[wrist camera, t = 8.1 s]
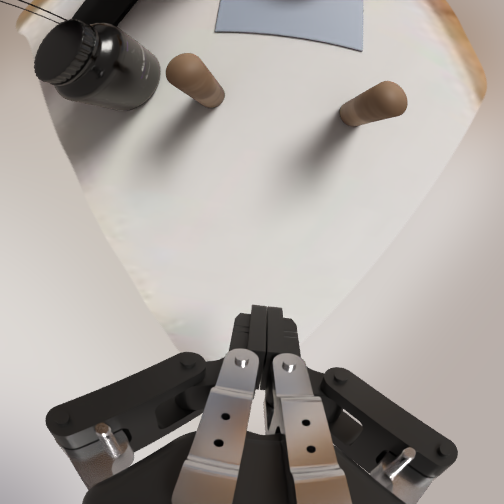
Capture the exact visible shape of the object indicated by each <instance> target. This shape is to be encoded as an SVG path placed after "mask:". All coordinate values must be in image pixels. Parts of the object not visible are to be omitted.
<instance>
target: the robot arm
mask: <svg viewBox="0 0 504 504" xmlns="http://www.w3.org/2000/svg"><path fill="white" fill-rule="evenodd" d="M259 384H260V390H265V399H264V418H265V431H266V432H265V433H266V435H259V434H256V433H252V432H249V431H247V426H248V421H249V415H250V410H251V404H252V400H253V399H254V395H255V390H256V389H259ZM343 409H345V410H346V411H347V412H348V413H350V414H351V415H352V416H353V417H355V418H356V419H357V420H359V421H360V422H361V424H362V426H361V425H360V424H359V423H357V422H356V421H355V420H354V419H352V418H351V417H350V416H349V415H347V414H346V413H345V412H343ZM202 413H203V415H202V418H201V421H200V423H199V426H198V429H197V431H195V432H191V433H188V434H185V435H183V436H180V437H178V438H177V439H175V440H173V441H172V442H170V443H168V444H167V445H165V446H164V447H162V448H160V449H159V450H157V451H156V452H154V453H152V454H151V455H149V456H147V457H146V458H144V459H142V460H140V461H139V462H137V463H135V464H133V465H132V466H130V465H131V464H132V462H133V460H134V452H136V451H138V450H140V449H141V448H143V447H145V446H147V445H149V444H151V443H152V442H154V441H156V440H158V439H160V438H162V437H163V436H165V435H167V434H169V433H170V432H172V431H174V430H176V429H177V428H179V427H181V426H182V425H184V424H186V423H187V422H189V421H191V420H192V419H194V418H195V417H197V416H199V415H200V414H202ZM46 426H47V428H48V429H49V431H50V432H51V433H52V435H53V436H54V438H55V440H56V442H57V443H58V445H59V446H60V447H61V449H62V450H63V451H64V452H65V454H66V455H67V456H68V457H69V458H70V460H71V462H72V464H73V465H74V467H75V469H76V471H77V472H78V474H79V476H80V477H81V479H82V481H83V482H84V484H85V485H86V487H87V488H88V490H89V491H88V492H87V493H86V495H85V497H84V499H83V503H82V504H416V503H417V502H418V500H419V499H420V498H421V496H422V495H423V494H424V492H425V491H426V490H427V488H428V487H429V485H430V484H431V483H432V481H433V480H434V479H435V478H437V477H438V476H439V475H440V474H442V473H443V472H444V471H445V470H446V469H447V468H448V467H450V466H451V465H452V464H453V463H454V462H455V461H456V458H457V455H458V451H457V448H456V446H455V444H454V443H453V442H452V441H451V440H449V439H447V438H446V437H444V436H443V435H441V434H440V433H438V432H436V431H435V430H434V429H432V428H431V427H429V426H428V425H426V424H424V423H423V422H422V421H420V420H418V419H417V418H416V417H414V416H413V415H411V414H410V413H408V412H407V411H405V410H404V409H403V408H401V407H399V406H398V405H397V404H395V403H394V402H392V401H391V400H389V399H388V398H387V397H385V396H384V395H382V394H381V393H380V392H378V391H376V390H375V389H374V388H373V387H371V386H370V385H368V384H367V383H365V382H364V381H363V380H361V379H360V378H359V377H357V376H356V375H354V374H353V373H351V372H350V371H349V370H346V369H344V368H338V367H335V368H330V369H328V370H327V371H326V372H325V374H324V373H320V372H317V371H314V370H311V369H309V368H308V367H307V366H306V364H305V361H304V360H303V359H302V358H301V355H300V349H299V340H298V333H297V326H296V324H295V323H294V321H293V320H292V319H289V318H283V312H282V308H278V307H269V306H268V307H267V306H260V305H252V310H251V314H244V313H240V314H239V315H238V316H237V317H236V318H235V322H234V327H233V332H232V337H231V343H230V348H229V352H228V353H227V354H226V355H225V357H224V358H222V359H220V360H216V361H207V362H205V360H204V358H203V357H202V356H200V355H199V354H196V353H192V352H183V353H179V354H177V355H175V356H173V357H171V358H168V359H166V360H164V361H162V362H160V363H158V364H156V365H153V366H151V367H149V368H147V369H145V370H142V371H140V372H138V373H136V374H133V375H131V376H129V377H127V378H124V379H122V380H120V381H117V382H115V383H113V384H110V385H108V386H106V387H103V388H101V389H99V390H96V391H94V392H91V393H89V394H86V395H84V396H81V397H79V398H76V399H74V400H71V401H68V402H66V403H63V404H61V405H58V406H56V407H53V408H52V409H51V410H50V411H49V412H48V414H47V416H46ZM333 444H334V445H335V446H334V445H333ZM354 461H355V462H356V463H355V462H354ZM359 465H360V466H361V467H362V468H364V469H365V470H366V471H367V472H368V473H370V475H369V474H368V473H367V472H366V471H365V470H364V469H362V468H361V467H360V466H359ZM129 466H130V467H129Z"/></svg>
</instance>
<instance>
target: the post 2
mask: <svg viewBox="0 0 504 504" xmlns="http://www.w3.org/2000/svg"><path fill="white" fill-rule="evenodd" d="M406 108H407V97H406V94H405V92H404V91H403V89H402V88H401V87H400V86H399V85H397V84H396V83H394V82H391V81H384V82H381V83H379V84H378V85H376V86H374V87H372V88H370V89H369V90H367V91H365V92H363V93H362V94H360V95H358V96H357V97H355V98H353V99H351V100H350V101H348V102H346V103H345V104H343V105H342V107H341V108H340V117H341V119H342V121H343V122H344V123H345V124H346V125H348V126H352V127H354V126H359V125H363V124H367V123H371V122H375V121H379V120H383V119H387V118H392V117H396V116H400V115H402V114H403V113H404V112H405V110H406Z"/></svg>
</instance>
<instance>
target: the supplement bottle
mask: <svg viewBox="0 0 504 504" xmlns="http://www.w3.org/2000/svg"><path fill="white" fill-rule="evenodd" d="M34 64H35V65H34V68H35V73H36V76H37V77H38V79H40V80H42V81H44V82H49V83H50V84H52V85H54V86H55V88H56V90H57V92H58V93H59V94H60V95H61V96H62V97H63V98H65V99H68V100H71V101H75V102H81V103H86V104H91V105H96V106H100V107H105V108H109V109H114V110H120V111H125V110H131V109H134V108H136V107H138V106H140V105H142V104H143V103H144V102H146V101H147V100H148V99H149V98H150V97H151V95H152V94H153V93H154V91H155V90H156V88H157V86H158V83H159V80H160V72H161V71H160V65H159V62H158V60H157V58H156V57H155V56H154V55H153V54H152V53H151V52H150V51H149V50H147V49H146V48H145V47H143V46H142V45H141V44H140V43H138V42H137V41H136V40H134V39H133V38H132V37H130V36H129V35H127V34H126V33H125V32H123V31H122V30H121V29H119V28H118V27H116V26H114V25H112V24H109V23H94V24H90V25H89V24H86V23H84V22H82V21H80V20H77V19H73V20H72V19H70V20H66V21H64V22H61V23H60V24H59V25H57V26H56V27H55V28H54V29H52V30H51V31H50V33H48V34H47V36H46V37H45V38H44V39H43V41H42V43H41V45H40V47H39V49H38V51H37V54H36V57H35V62H34Z"/></svg>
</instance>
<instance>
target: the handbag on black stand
mask: <svg viewBox="0 0 504 504" xmlns="http://www.w3.org/2000/svg"><path fill="white" fill-rule="evenodd" d="M19 1H21V2H24V1H22V0H19ZM137 1H138V0H85V1H84V3H83V4H82V5H81V7H80V8H79V9H78V11H77V12H76V13H75V15H74V16H73V17H72V20H73V19H77V20H80V21H82V22H84V23H86V24H89V25H90V24H94V23H109V24H112V25H114V26H117V25H118V24H119V22H120V21H121V20H122V19H123V17H124V16H125V15H126V14H127V12H128V11H129V10H130V9H131V8H132V7H133V5H134V4H135V3H136V2H137ZM0 2H3V1H0ZM3 3H6V2H3ZM24 3H27V2H24ZM6 4H9V3H6ZM27 4H29V5H31V6H34V7H36V8H39V7H37V6H35V5H32V4H30V3H27ZM9 5H12V4H9ZM12 6H15V5H12ZM15 7H17V6H15ZM18 8H20V7H18ZM21 9H23V8H21ZM39 9H41V10H43V11H46V10H44V9H42V8H39ZM24 10H26V9H24ZM26 11H29V10H26ZM29 12H31V11H29ZM46 12H48V13H50V14H53V13H51V12H49V11H46ZM32 13H34V12H32ZM34 14H37V13H34ZM37 15H39V14H37ZM53 15H55V14H53ZM39 16H42V15H39ZM55 16H57V15H55ZM42 17H44V16H42ZM57 17H59V18H61V19H63V20H66V19H64V18H62V17H60V16H57ZM44 18H46V17H44ZM47 19H49V18H47ZM49 20H51V19H49ZM52 21H53V20H52ZM54 22H56V21H54ZM56 23H58V22H56ZM58 24H60V23H58Z"/></svg>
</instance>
